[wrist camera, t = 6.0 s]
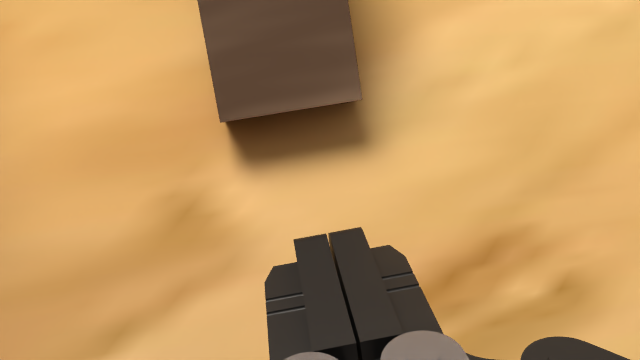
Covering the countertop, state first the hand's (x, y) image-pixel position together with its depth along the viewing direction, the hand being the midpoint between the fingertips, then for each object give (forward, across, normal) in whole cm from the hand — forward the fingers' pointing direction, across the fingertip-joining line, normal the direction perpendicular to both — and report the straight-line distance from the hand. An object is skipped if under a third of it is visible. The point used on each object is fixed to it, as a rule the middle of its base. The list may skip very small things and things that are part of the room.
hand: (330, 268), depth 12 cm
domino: (+9, 0, -1) cm, 9 cm away
